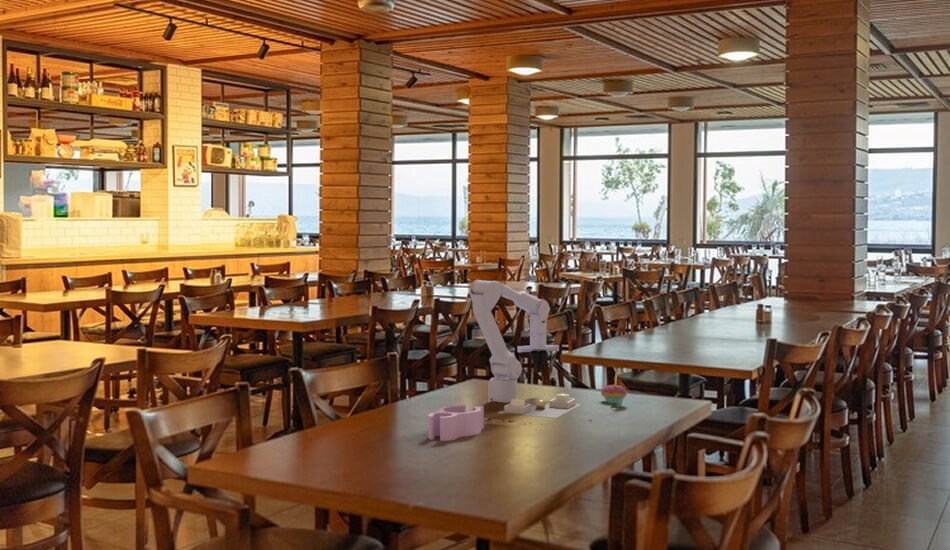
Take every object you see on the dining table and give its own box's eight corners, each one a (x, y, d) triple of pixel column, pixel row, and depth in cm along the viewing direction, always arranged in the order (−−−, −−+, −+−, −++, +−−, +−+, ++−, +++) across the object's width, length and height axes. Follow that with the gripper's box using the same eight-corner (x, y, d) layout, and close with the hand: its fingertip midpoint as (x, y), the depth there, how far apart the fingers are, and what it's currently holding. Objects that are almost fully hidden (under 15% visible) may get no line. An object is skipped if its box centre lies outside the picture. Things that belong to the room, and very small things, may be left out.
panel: (497, 417, 315) (497, 406, 315) (526, 404, 337) (526, 394, 337) (556, 422, 306) (556, 411, 306) (582, 408, 328) (582, 398, 328)
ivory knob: (508, 411, 316) (508, 400, 316) (514, 409, 320) (514, 398, 320) (521, 413, 314) (521, 401, 314) (526, 410, 318) (526, 399, 318)
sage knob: (553, 406, 325) (553, 395, 324) (558, 404, 329) (558, 393, 328) (566, 407, 323) (566, 396, 322) (571, 405, 327) (571, 394, 326)
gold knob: (534, 408, 321) (534, 401, 321) (537, 407, 324) (537, 399, 323) (543, 409, 320) (543, 402, 319) (546, 408, 322) (546, 400, 322)
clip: (453, 443, 281) (453, 419, 281) (418, 438, 288) (417, 414, 287) (490, 430, 298) (490, 407, 297) (456, 425, 304) (456, 403, 304)
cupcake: (631, 407, 330) (631, 371, 330) (608, 409, 327) (608, 373, 326) (618, 402, 338) (618, 367, 338) (596, 404, 335) (596, 369, 334)
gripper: (520, 335, 340) (520, 374, 341) (561, 334, 343) (561, 373, 344) (515, 333, 347) (516, 371, 348) (555, 331, 350) (556, 369, 350)
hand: (538, 372), depth 346 cm, fingers closed
